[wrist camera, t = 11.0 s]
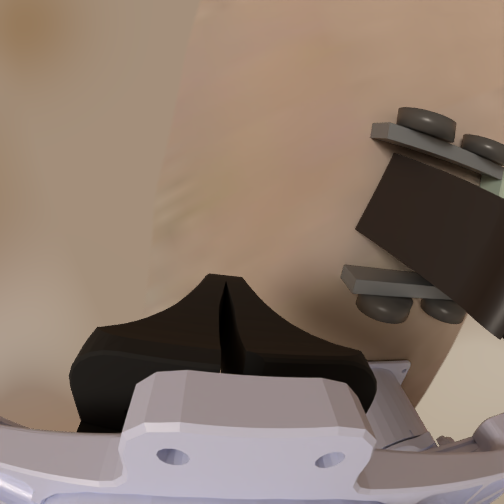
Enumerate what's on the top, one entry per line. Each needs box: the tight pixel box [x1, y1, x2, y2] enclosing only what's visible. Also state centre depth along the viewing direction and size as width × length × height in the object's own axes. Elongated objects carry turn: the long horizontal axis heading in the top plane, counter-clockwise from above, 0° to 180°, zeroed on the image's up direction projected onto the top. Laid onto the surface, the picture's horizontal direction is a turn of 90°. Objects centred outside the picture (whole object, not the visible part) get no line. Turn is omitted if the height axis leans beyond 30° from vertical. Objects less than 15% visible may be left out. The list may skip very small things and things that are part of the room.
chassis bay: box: [341, 107, 504, 324], centre depth 19 cm, size 14×12×4 cm
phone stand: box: [355, 153, 504, 339], centre depth 16 cm, size 9×6×12 cm, turn 64°
